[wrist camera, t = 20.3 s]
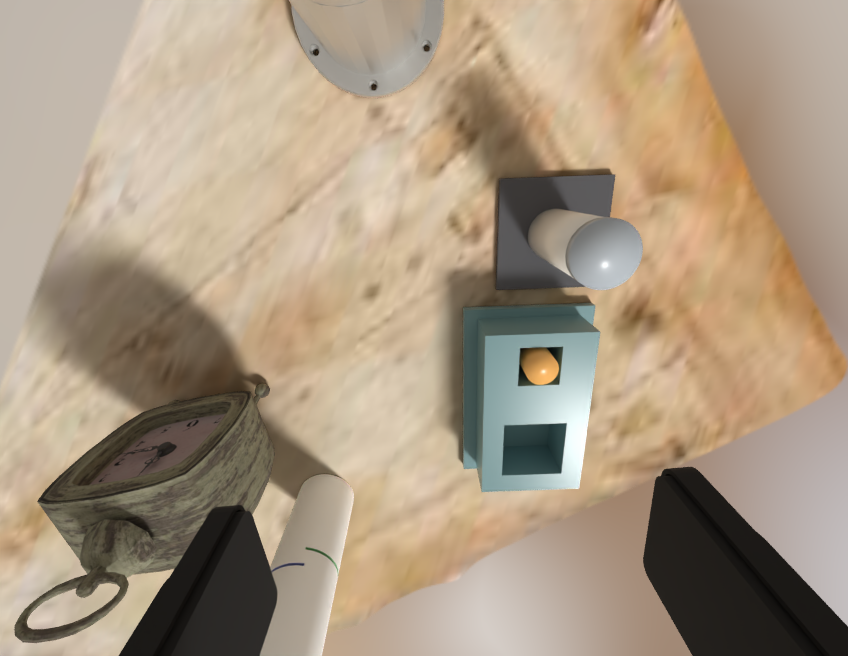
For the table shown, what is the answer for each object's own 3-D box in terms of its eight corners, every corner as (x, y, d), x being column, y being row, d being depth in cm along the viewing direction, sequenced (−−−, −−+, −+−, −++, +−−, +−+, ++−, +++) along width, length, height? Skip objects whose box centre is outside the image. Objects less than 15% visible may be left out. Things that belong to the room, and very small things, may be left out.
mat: (499, 178, 38) (500, 178, 38) (612, 174, 38) (615, 174, 38) (495, 288, 42) (496, 289, 41) (598, 284, 42) (600, 286, 41)
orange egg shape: (516, 338, 42) (526, 355, 37) (546, 337, 42) (560, 354, 37) (514, 365, 43) (525, 385, 39) (544, 364, 43) (557, 384, 39)
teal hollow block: (463, 307, 43) (469, 326, 37) (591, 302, 43) (617, 321, 37) (462, 463, 50) (468, 499, 45) (572, 459, 50) (591, 494, 45)
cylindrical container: (296, 474, 51) (190, 728, 27) (351, 473, 51) (293, 726, 27) (303, 516, 53) (211, 782, 30) (355, 515, 53) (306, 780, 30)
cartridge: (528, 209, 39) (572, 220, 27) (580, 206, 39) (647, 215, 27) (526, 261, 40) (567, 292, 29) (576, 258, 40) (637, 287, 29)
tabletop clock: (275, 370, 45) (122, 574, 22) (300, 434, 48) (189, 672, 25) (158, 393, 46) (-110, 612, 23) (190, 454, 49) (-17, 703, 26)
